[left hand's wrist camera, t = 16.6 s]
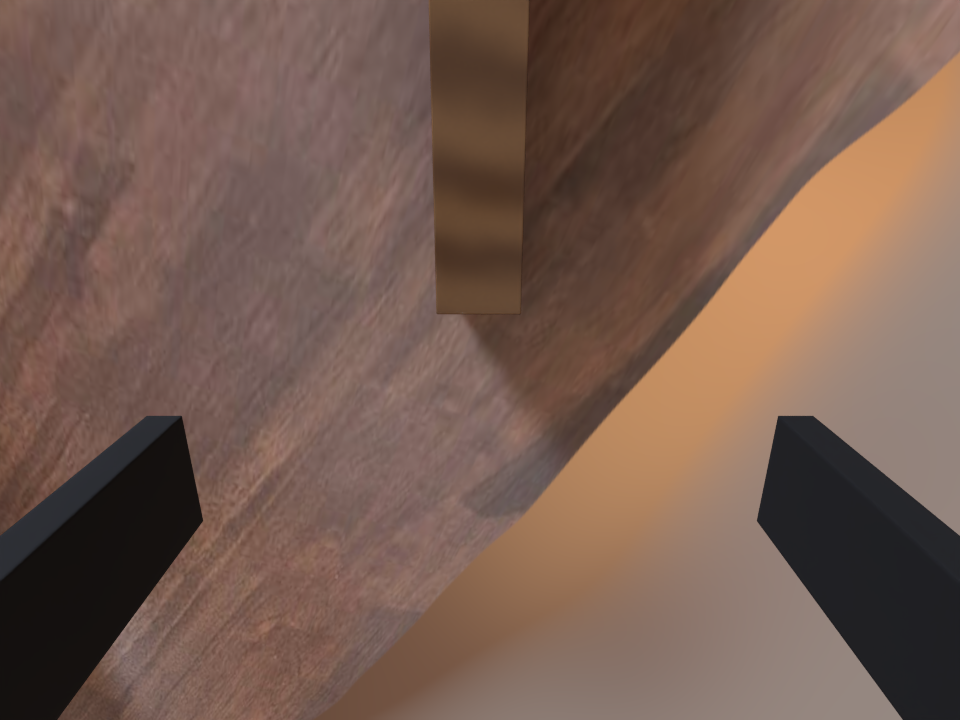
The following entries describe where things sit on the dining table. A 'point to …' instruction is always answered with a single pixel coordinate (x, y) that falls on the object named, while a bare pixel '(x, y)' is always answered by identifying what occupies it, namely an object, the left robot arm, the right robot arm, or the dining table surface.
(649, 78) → the dining table surface
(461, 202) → the bar
